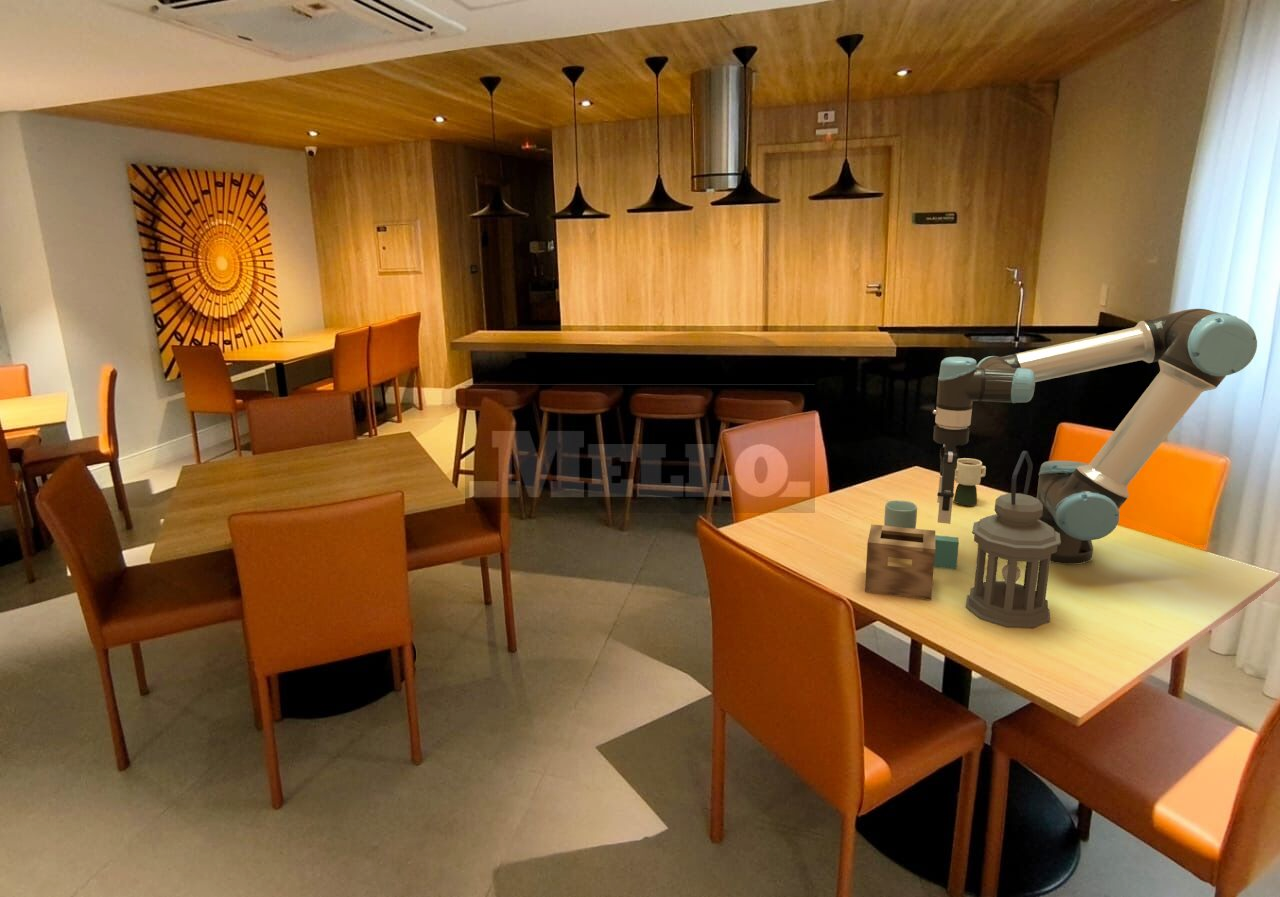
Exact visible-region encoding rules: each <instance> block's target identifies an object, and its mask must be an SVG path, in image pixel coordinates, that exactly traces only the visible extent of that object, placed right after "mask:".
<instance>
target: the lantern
mask: <svg viewBox="0 0 1280 897" xmlns="http://www.w3.org/2000/svg"><path fill="white" fill-rule="evenodd" d="M1024 460H1025V461H1026V463H1027V471H1026V472H1027V473H1026V478H1025V485H1024V490H1023V493H1017V477H1018V474H1019V473H1020V470H1021V467H1022V464H1023V462H1024ZM1032 473H1033V461H1032V459H1031V456H1030V454H1029V452H1028V450H1023V451H1022V452H1021V453H1020V456H1019V458H1018V460H1017V463H1016V465H1015V467H1014V469H1013V472H1012V476H1011V492H1010V493H1004V494H1002V495H999V496H998V497H997V498H996V499H995V504H994V512H995V514H992V515H989V516H986V517H983V518H980V519H979V521H975V522H973V525H972V531H971V533H972V534H973V535H974V537H973V542H975V543H977V544H978V545H977V556H976V564H975V565H976V566H975V572H974V573H975V574H974V575H975V576H974V585H973V587H971V588H970V591H969V594H968V595H967V596H966V602H965V606H964V607H965V608H966V610H967V611H969V612H971V614H973V615H974V617H975V616H976V617H977V619H979V620H981V621H983V622H987V623H991V624H993V625H997V626H1000V627H1003V628H1009V629H1011V628H1013V629H1015V628H1016V629H1036V628H1038V627H1042V626H1043V625H1046V624H1049V623H1050V622H1051V614H1050V613H1051V612H1050V608H1049V600H1048V599H1046V598H1047V589H1048V582H1049V581H1048V580H1049V574H1050V567H1051V562H1050V560H1051V554H1053V553H1056V552H1057V546H1058V545H1061V541H1060V533H1058V532H1056V531H1055V530H1054V528H1052V527H1051V526H1049V525H1048V524H1046V523H1044V522H1043V521H1041V520H1039V519H1040V518H1041V517H1042V513H1043V504H1042V503H1041V502H1040V501H1039V500H1038V499H1037V497H1034V496H1033V495H1028V493H1029V488H1030V483H1031V479H1032ZM987 555H988V556H987ZM986 557H987V558H986ZM999 559H1002V560H1006V561H1007V563H1006V564H1005V565H1003V567H1002V568H1001V575H1002V578H1003V579H1004V581H1002V580H1001V581H999V580H997V572H998V562H999ZM986 560H987V565H986ZM1018 563H1025V570H1024V577H1023V578H1024V580H1023V584H1020V583H1016V582H1017V581H1018V580H1019V578H1020V577H1021V569H1020V567H1019V566H1018ZM985 566H986V575H985ZM984 579H985V581H984Z"/></svg>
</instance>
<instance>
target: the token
mask: <svg viewBox="0 0 1280 897" xmlns="http://www.w3.org/2000/svg"><path fill="white" fill-rule="evenodd" d="M958 555H959V537H957V536H947V535H937V534H935V561H934V568H938V569H939V568H941V569H949V570H957V566H958V564H957V563H958Z"/></svg>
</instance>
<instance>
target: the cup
mask: <svg viewBox="0 0 1280 897" xmlns="http://www.w3.org/2000/svg"><path fill="white" fill-rule="evenodd" d="M917 515H918V506H917V504H915V503H914V502H912V501H908V500H890V501H887V502H886V503H885V507H884V522H883V523H884V525H883V526H894V527H904V528H914V529H917V528H916V527H917V517H918V516H917Z"/></svg>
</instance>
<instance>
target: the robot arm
mask: <svg viewBox="0 0 1280 897" xmlns="http://www.w3.org/2000/svg"><path fill="white" fill-rule="evenodd" d="M1257 348H1258V340H1257V336H1256V332H1255V330H1254V329H1253V328H1252V326H1251V325H1250V324H1249V323H1248V322H1246V321H1245V320H1243V319H1241V318H1239V317H1237V316H1236V315H1232V314H1229V313H1225V312H1223V313H1222V312H1218V311H1213V310H1211V309H1205V308H1190V309H1185V310H1181V311H1177V312H1171V313H1169V314H1165V315H1164V314H1163V315H1160V316H1156V317H1153V318H1149V319H1145V320H1141V321H1138V323H1137V324H1136V325H1135V326H1134V327H1130V328H1125V329H1124V328H1123V329H1121V330H1115V331H1111V332H1107V333H1102V334H1098V335H1094V336H1089V337H1085V338H1081V339H1075V340H1072V341H1066V342H1062V343H1058V344H1053V345H1049V346H1044V347H1039V348H1036V349H1031V350H1026V351H1023V352H1018V353H1017V352H1016V353H1013V354H1008V355H1004V356H996V355H991V356H987V357H984V358H983V359H981V360H980V361H979V362H978V363H977V360H976V359H974V358H972V357H964V356H949V357H945V358H943V359H942V360H941V362H940V367H939V374H938V377H937V379H938V380H937V392H936V394H937V395H936V408H935V409H933V410H932V414H933V415H935V417H934V418H935V419H934V420H935V421H934V422H935V425H934V426H933V438H932V439H933V441H934V442H935V443H936V444H940V445H943V446H942V447H940V450H939V458H940V467H939V471H940V472H939V475H940V476H939V480H938V490H937V495H936V496H937V503H938V512H937V513H938V514H937V523H939V524H948V525H950V524H951V520H952V511H953V502H954V496H955V491H954V489H955V470H956V469H957V460H958V459H960V451H959V450H960V449H959V448H957V446H965V445H967V444H968V443H969V441H970V440H969V439H970V438H969V437H970V430H971V429H970V427H969V426H971V423H972V422H971V421H972V412H973V402H992V403H996V402H997V403H1012V404H1016V403H1028V402H1030V401H1031V400H1032V399H1033V397H1034V392H1035V388H1036V383H1037V382H1042V381H1047V380H1051V379H1055V378H1062V377H1065V376H1066V377H1067V376H1072V375H1076V374H1080V373H1085V372H1091V371H1096V370H1100V369H1104V368H1109V367H1115V366H1118V365H1124V364H1129V363H1133V362H1138V361H1139V362H1140V361H1143V362H1145V363H1147V364H1151V363H1156V362H1158V365H1159V370H1160V371H1159V373H1157V374H1156V376H1155V377H1154V378H1153V380H1152V381H1151V383H1150V384H1149V386H1148V387H1146V389H1145V390H1144V392H1142V394H1141V396H1140V397H1139V398H1138V400H1137V401H1136V402H1135V403H1134V405H1133V406H1132V408H1131V409H1130V410H1129V411H1128V413H1127V414H1126V415H1125V417H1124V418H1123V419H1122V420H1121V422H1120V423H1119V424H1118V426H1117V427H1116V428H1115V430H1114V431H1113V433H1112V434H1111V435H1110V436H1109V438H1108V439H1107V440H1106V442H1105V443H1104V444H1103V445H1102V447H1101V448H1100V449H1099V451H1098V452H1097V453H1096V455H1094V457H1093V458H1092V459H1091V460H1090V462H1089V463H1086V462H1080V461H1071V460H1048V461H1044V462H1043V463H1042V464H1041V465H1040V468H1039V472H1038V476H1039V477H1038V483H1037V484H1038V485H1037V494H1036V499H1038V500H1039V501H1040V502H1041V503H1042V504H1043V513H1042V517H1041V518H1040V519H1039V520H1041V521H1043V522H1044V523H1046V524H1048V525H1049V526H1051V527H1052V528H1054V530H1055V531H1056V532H1058V533H1060V541H1061V545H1058V546H1057V552H1056V553H1053V554H1051V560H1050V563H1051V562H1052V563H1054V564H1055V563H1056V564H1062V565H1063V564H1064V565H1076V564H1079V565H1080V564H1084V563H1088V562H1090V561H1091V560H1092V559H1093V555H1094V545H1093V541H1094V540H1095V541H1096V540H1100V539H1102V538H1105V537H1106V536H1108V535H1109V534H1111V533H1112V532H1113V531H1115V529H1116V528H1117V526H1118V524H1119V522H1120V508H1121V507H1122V506H1123V505H1124V503H1125V502H1126V501H1127V499H1128V498H1129V497H1130V496H1129V491H1128V485H1129V484H1130V483H1131V481H1132V480H1133V479H1134V478H1135V477H1136V475H1137V474H1138V473H1139V472H1140V471H1141V469H1143V467H1144V465H1145V464H1146V463H1147V462H1148V460H1149V459H1150V458H1151V457H1152V456H1153V454H1154V453H1155V452H1156V451H1157V449H1158V448H1159V447H1160V445H1161V444H1162V443H1163V442H1164V440H1165V439H1166V438H1167V437H1168V435H1169V434H1170V433H1171V432H1172V431H1173V429H1174V428H1176V426H1177V424H1178V423H1179V422H1180V421H1181V419H1182V418H1183V417H1184V415H1185V414H1186V413H1187V412H1188V411H1189V409H1190V408H1191V407H1192V405H1193V404H1194V403H1195V402H1196V400H1197V399H1198V398H1199V397H1200V395H1201V394H1202V393H1204V392H1206V391H1212V390H1215V389H1217V388H1218V387H1219V385H1221V383H1222V382H1223V381H1224V379H1225V378H1226V377H1227V376H1230V375H1233V374H1236V373H1238V372H1241V371H1242V370H1244V369H1245V368H1246V367H1247V366H1248V365H1249V364H1250V363H1251V362H1252V360H1253V359H1254V357H1255V356H1256V353H1257Z"/></svg>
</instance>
